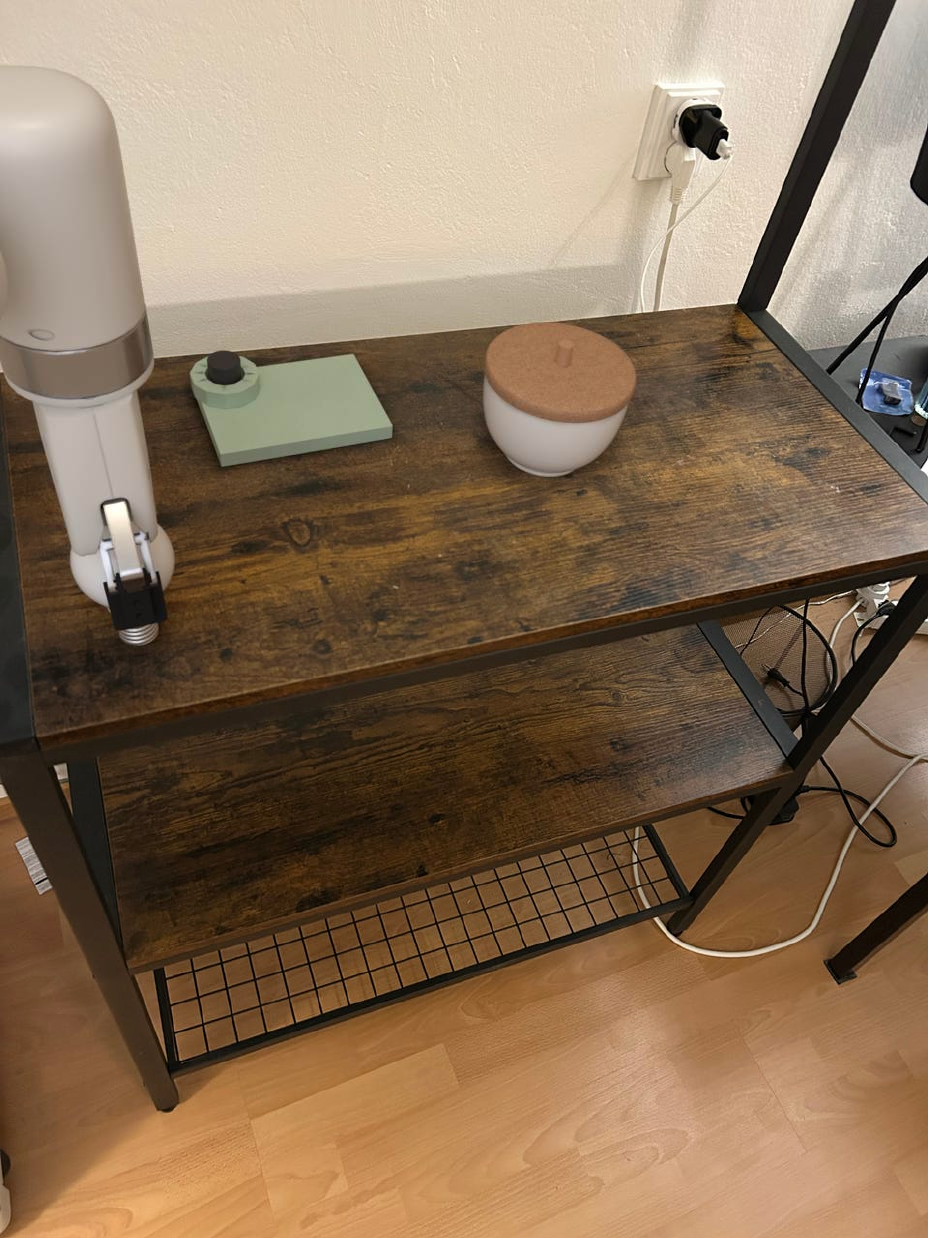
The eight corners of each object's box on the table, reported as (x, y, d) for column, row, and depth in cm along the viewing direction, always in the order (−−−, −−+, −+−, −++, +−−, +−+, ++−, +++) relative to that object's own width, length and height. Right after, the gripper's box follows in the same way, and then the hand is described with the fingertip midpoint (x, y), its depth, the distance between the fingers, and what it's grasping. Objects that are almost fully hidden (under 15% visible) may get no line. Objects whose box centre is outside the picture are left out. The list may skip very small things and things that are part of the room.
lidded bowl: (454, 414, 89) (468, 306, 80) (580, 400, 92) (606, 295, 84) (499, 507, 81) (520, 398, 73) (635, 488, 85) (669, 382, 76)
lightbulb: (143, 589, 71) (119, 475, 63) (206, 633, 69) (190, 521, 61) (72, 640, 67) (37, 526, 59) (137, 688, 65) (110, 576, 57)
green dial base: (217, 467, 80) (214, 439, 78) (188, 387, 87) (184, 358, 85) (392, 438, 85) (393, 410, 83) (351, 364, 92) (352, 336, 90)
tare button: (212, 388, 83) (210, 371, 82) (205, 369, 85) (203, 352, 83) (245, 383, 84) (243, 366, 82) (237, 365, 85) (236, 348, 84)
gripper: (-19, 261, 54) (48, 491, 67) (16, 459, 44) (87, 684, 57) (120, 247, 56) (160, 472, 69) (184, 432, 46) (216, 654, 59)
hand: (127, 568), depth 63 cm, fingers open, 9 cm apart
